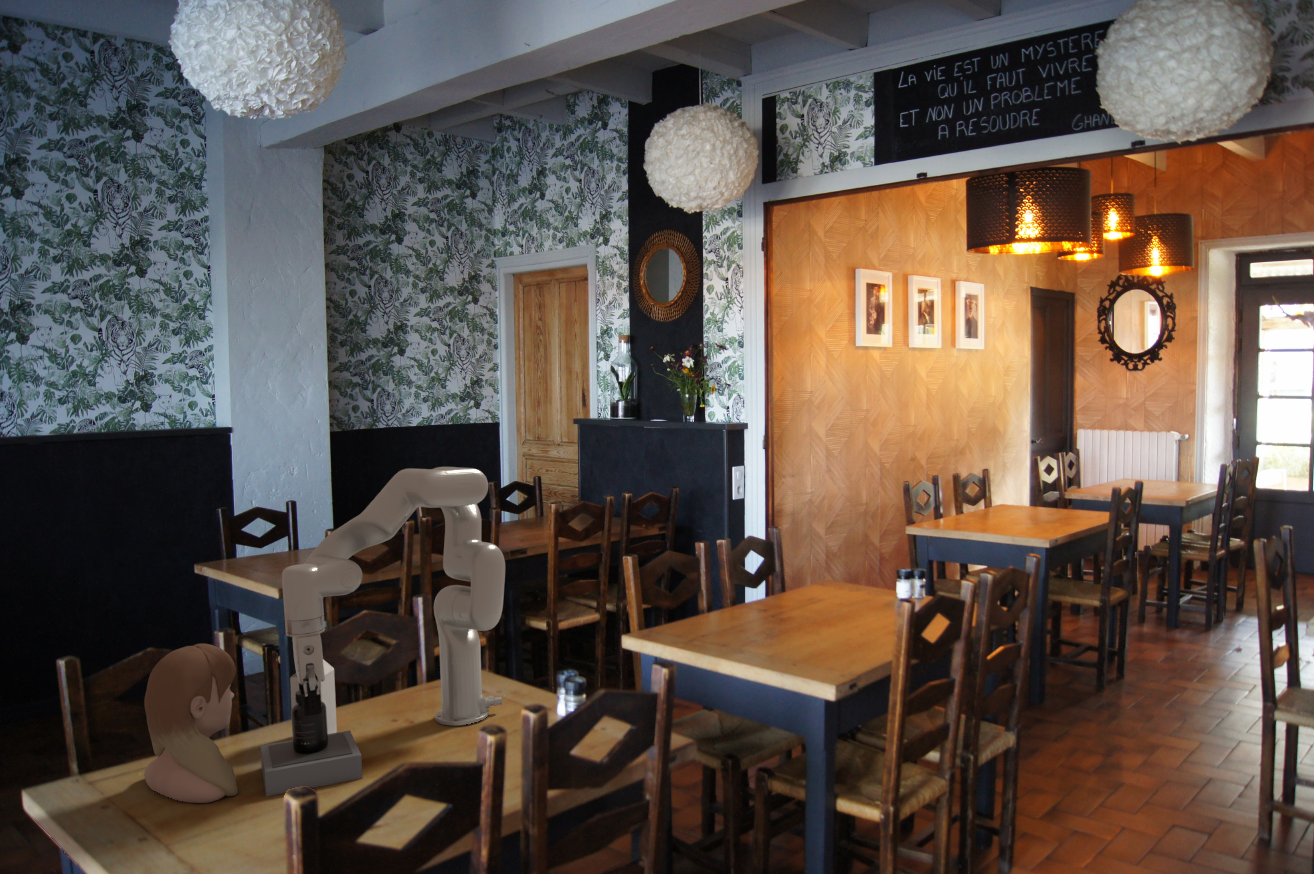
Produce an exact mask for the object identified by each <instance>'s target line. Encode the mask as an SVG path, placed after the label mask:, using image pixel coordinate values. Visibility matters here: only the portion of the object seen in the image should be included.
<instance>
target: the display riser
mask: <svg viewBox="0 0 1314 874" xmlns="http://www.w3.org/2000/svg"><path fill="white" fill-rule="evenodd" d="M260 766H261V775H262V779H263V785H264V791H265V796H266V797H271V796H276V795H277V796H278V795H281V794H286V793H285V792H286V791H287V790H288V789H292V788H295V787H300V786H308V787H312V788H318V787H324V786H329V785H333V784H334V785H335V784H339V783H344V782H350V781H354V780H355V781H356V780H360V779H363V763H362V753H361V752H360V748H359V747H358V745H357V742H356V740H355V738H354V736H353V734H352V732H351V730H344V731H337V732H336V733H332V734H328V745H327V747H326V748H325V749H323V750H321V751H318V752H315V753H309V754H300V753H297V752H295V751H294V749H293V739H290V740H286V741H279V742H272V743H268V744H263V745H260ZM312 788H311V789H312Z"/></svg>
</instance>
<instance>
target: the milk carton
mask: <svg viewBox="0 0 1314 874" xmlns="http://www.w3.org/2000/svg"><path fill="white" fill-rule="evenodd" d="M323 665H324V675H325V680H324V681H323V682H322V681H319V679H318V685H319V689H320V695H321V701H322V702H324V703H325V705H326V712H327V729H328V734H332V733H338V727H337V725H338V724H337V704H336V685H335V684H336V682H335V668H334V667H333V666H332V665H331V664H330V663H328V662H327V661H326V660H325V659H324V658H323ZM289 681H290V683H289V684H290V702H291V703H290V704H291V709H292V708H293V707H294V705H296V704H297V703H296V702H295V699H296V696H295V693H296V692H297V691H299V680H298V677H297V673H296V672H295V673H294V674H293V675H292V676H290V680H289Z"/></svg>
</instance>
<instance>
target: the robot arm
mask: <svg viewBox="0 0 1314 874" xmlns="http://www.w3.org/2000/svg"><path fill="white" fill-rule="evenodd" d="M488 491H489V482H488V479H487V476H486V475H485V474H484V473H483V472H482V471H481V470H480V469H476V468H474V467H456V466H438V467H434V468H431V469H429V468H428V469H427V468H404V469H401V470H399V471H398V472H397V473H395V474H394V475H393V476H392V477H391V478H390V480H389V481H388V482H387V483H386V484H385V486H384V487H383V488H381V490H380V492H379V493H377V494H376V496H375V497H374V499H373V500H372V501H371V502H370V503H369V504H368V505H367V506H366V508H365V509H364V510H363V511H362V512H361V513H360V514H358V515H357V516H355V517H353V518H352V519H350V520H348V521H347V522H346V523H344V524H343V525H341V526H339V527H338V528H336V529H335V530H333V531H332V532H330V533H329V534H328V535H327V536H326V537H324V538H323V539H322V540H321V542H320V543H319V544H318V545H317V546H316V547H315V549H313V551H312V552H311V553H310V554H309V556H308V557H307V558H306V560H305V562H304V563H300V564H294V565H290V566H289V565H288V566H287V567H285V568H283V570H282V573H281V582H282V583H281V584H282V596H283V610H284V611H283V612H284V614H283V615H284V623H285V624H284V625H285V636H287V637H289V638H292V650H293V659H294V666H295V667H294V668H295V673H297V677H298V680H299V690H301V689H304V693H305V696H303V699H304V714H305V716H310V715H316V714H320V713H321V712H322V710H321V695H320V693H319V685H318V679H319V681H322V682H323V681H324V680H325V675H324V665H323V659H324V656H323V653H324V652H323V644H322V637H321V634H322V633H324V632H325V630H326V628H325V627H326V626H325V624H326V623H325V613H324V612H325V611H324V610H325V609H324V598H325V597H334V596H335V597H336V596H345V595H349V594H351V593H354V592H355V591H356V590H357V589H358V588H359V587H360V586H361V583H362V581H363V571H362V568H361V567H360V565H359V564H357V563H356V562H355V561H353V560H351V559H350V558H351V557H352V556H354V555H356V554H357V553H359V552H360V551H363V550H364V549H367V548H370V547H374V546H376V545H379V544H383V543H384V542H385V543H386V541H389V540H391V539H392V538H393V537H395V536H396V534H397V533H398V532H399V530H400V529H401V528H402V527H403V525H404V524H405V523H406V522H407V520H409V519H410V517H411V516H412V515H413V513H414V512H415V511H416V510H417V509H418V508H420V507H421V508H431V509H433V508H439V509H441V510H442V511H441V512H442V513H443V517H444V522H445V524H444V527H445V528H444V531H445V532H444V545H443V546H444V547H443V558H442V559H443V561H442V564H443V565H442V566H443V567H442V568H443V571H444V572H445V575H446V576H448V577H449V578H451V579H454V580H459V581H464V582H470V586H468V585H460V584H453V585H452V584H451V585H448V586H445V587H443V588H442V589H440V590H439V592H438V593H437V594H436V596H435V597H434V598H435V599H434V602H433V615H434V618H435V622H436V623H435V624H436V626H437V632H438V641H439V642H438V643H439V645H438V646H439V667H440V668H439V670H440V671H439V673H440V674H439V676H440V695H441V696H440V697H441V699H440V700H441V709H440V710H438V711H437V712H436V713H435V721H436V722H437V723H439V724H440V725H445V726H456V727H457V726H458V727H459V726H467V725H466V724H468V725H472V724H471V723H473V724H475V723H474V722H477V723H479V722H478V721H480V720H482V719H484V718H486V717H487V716H488V715H489V716H490V710H489V709H490V707H492V706H495V707H496V706H501V705H503V698H502V696H497V697H495V696H494V695H488V696H486V697H485V695H484V694H483V689H482V687H483V685H482V660H481V659H482V658H481V656H482V655H481V650H482V649H481V640H480V636H479V632H478V631H480V632H485V631H489V630H492V629H493V628H495V627H496V626H497V625H498V623H499V622H500V619H501V617H502V612H503V608H504V607H503V606H504V595H505V582H506V580H505V579H506V560H505V556H504V554H503V552H502V550H501V549H500V548H499V547H498V546H497V545H496V544H494V543H491V542H486V541H482V515H481V511H480V508H479V506H478V504H479V503H480V502H482V501H483V500H484V499H485V497H486V496H487V494H488ZM489 716H488V717H489ZM488 717H487V718H488ZM487 718H486V719H487ZM484 720H485V719H484ZM482 721H483V720H482ZM480 722H481V721H480Z"/></svg>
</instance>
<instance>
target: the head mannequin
mask: <svg viewBox="0 0 1314 874" xmlns="http://www.w3.org/2000/svg"><path fill="white" fill-rule="evenodd" d="M236 669H237V668H236V666H235V661H234V660H233V658H232V656H231V655H230V654H229V653H228V652H226V650H224V649H223V648H221V647H218V646H215V645H213V644H210V643H209V644H208V643H196V644H193V645H186V646H183V647H180V648H177V649H174V650H173V651H170V652H169V653H167V654H166V655H165V656H164V657H162V658H161V659H160V660H159V661H158V662H157V663H156V664H155V665H154V667H153V668H152V670H151V671H150V674H149V677H148V681H147V684H146V685H147V686H146V689H145V690H146V691H145V695H144V701H143V703H144V710H145V716H146V724H147V727H148V731H149V737H150V740H151V744H152V748H153V753H154V755H156V756H157V757H156V758H155V759H153V760H151V761H150V762H149V763H148V765H147V766H146V767H145V770H144V775H143V776H144V780H145V782H146V784H147V786H148V787H149V789H151V790H152V791H154V792H155V791H156V792H155V793H157V792H158V793H157V794H159V793H160V794H159V795H161V796H163V795H164V797H166V798H168V797H169V799H171V798H172V799H171V800H174V801H177V800H178V802H182V801H183V803H192V804H195V803H196V804H206V803H207V804H208V803H212V802H216V801H218V800H220V799H222V798H224V797H233V796H236V795H237V794H238V792H239V790H238V789H239V788H238V786H237V782H236V776H235V775H236V774H235V771H234V768H233V766H232V765H231V764H230V763H229V762H228V761H227V760H226V759H225V757H224V756H223V754H222V752H221V750H220V748H219V746H218V745H217V743H216V742H215V741H214V740H213V739H211V738H210V737H212V736H213V735H214V734H215V733H217V732H219V731H222V730H225V729H226V728H227V727H228V726H230V722H231V715H232V704H233V702H232V700H233V698H234V697H235V694H234V693H233V692H232V690H231V688H232V687H233V685H234V684H233V680H234V679H235V677H236V674H237V670H236Z"/></svg>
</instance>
